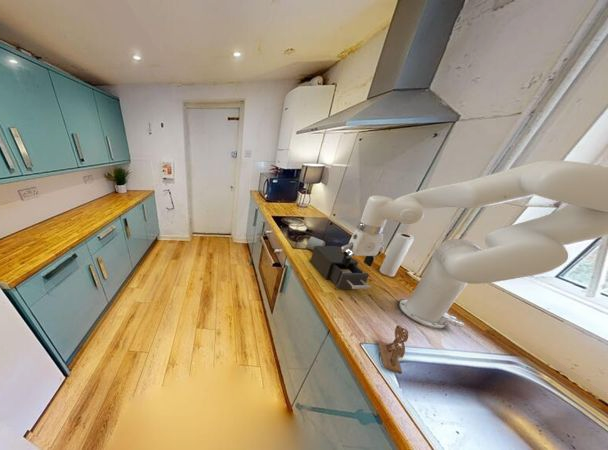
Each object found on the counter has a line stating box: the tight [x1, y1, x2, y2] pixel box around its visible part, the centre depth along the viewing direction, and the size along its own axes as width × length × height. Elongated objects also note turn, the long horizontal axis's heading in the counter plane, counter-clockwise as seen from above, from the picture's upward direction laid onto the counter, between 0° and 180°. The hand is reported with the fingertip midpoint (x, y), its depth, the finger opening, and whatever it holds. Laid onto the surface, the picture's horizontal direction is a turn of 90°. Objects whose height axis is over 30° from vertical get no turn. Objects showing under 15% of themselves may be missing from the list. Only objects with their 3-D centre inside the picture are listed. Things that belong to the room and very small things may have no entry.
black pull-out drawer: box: [329, 264, 372, 290], centre depth 88 cm, size 18×11×8 cm, turn 2°
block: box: [341, 269, 352, 273], centre depth 89 cm, size 4×4×4 cm
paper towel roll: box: [379, 232, 415, 278], centre depth 94 cm, size 7×6×21 cm
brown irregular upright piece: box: [377, 324, 409, 375], centre depth 58 cm, size 9×4×12 cm, turn 151°
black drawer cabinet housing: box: [309, 245, 359, 280], centre depth 98 cm, size 15×13×10 cm
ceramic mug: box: [306, 236, 326, 251], centre depth 116 cm, size 11×8×8 cm
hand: (356, 264), depth 83 cm, fingers open, 9 cm apart
